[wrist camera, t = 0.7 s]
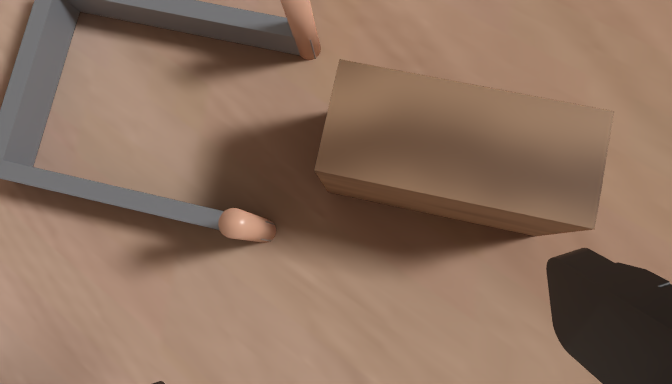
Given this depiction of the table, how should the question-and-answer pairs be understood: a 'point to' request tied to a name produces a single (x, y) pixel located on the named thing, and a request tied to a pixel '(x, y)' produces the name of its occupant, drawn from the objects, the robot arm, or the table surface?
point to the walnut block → (463, 150)
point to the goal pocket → (149, 9)
